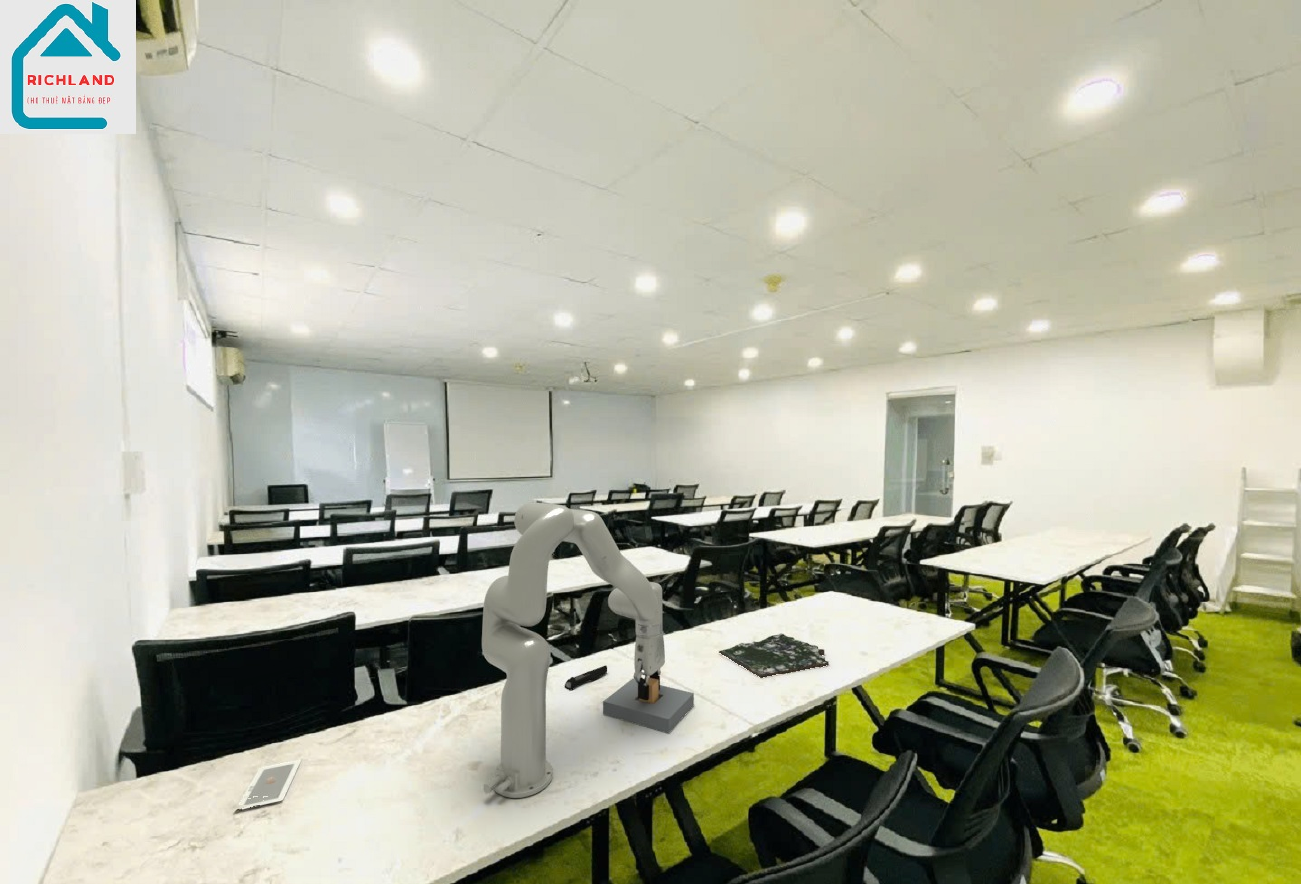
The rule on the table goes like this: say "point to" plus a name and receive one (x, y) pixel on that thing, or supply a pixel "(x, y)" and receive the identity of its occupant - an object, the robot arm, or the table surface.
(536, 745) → the robot arm
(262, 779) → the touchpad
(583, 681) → the electric trimmer
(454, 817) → the table surface
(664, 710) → the socket board
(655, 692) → the peg
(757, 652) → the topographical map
